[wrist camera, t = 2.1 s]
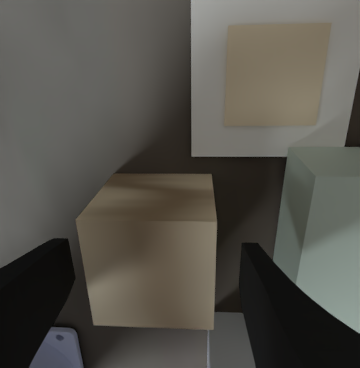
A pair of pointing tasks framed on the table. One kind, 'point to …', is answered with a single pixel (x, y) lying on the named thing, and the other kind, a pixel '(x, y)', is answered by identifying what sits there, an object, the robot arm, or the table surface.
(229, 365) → the grey cube
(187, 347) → the table surface
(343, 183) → the base block
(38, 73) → the table surface
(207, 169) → the table surface
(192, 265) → the maple cube
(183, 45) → the table surface
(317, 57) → the card
